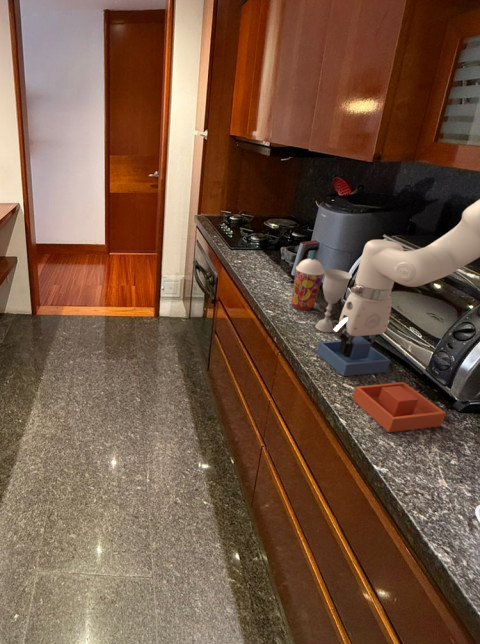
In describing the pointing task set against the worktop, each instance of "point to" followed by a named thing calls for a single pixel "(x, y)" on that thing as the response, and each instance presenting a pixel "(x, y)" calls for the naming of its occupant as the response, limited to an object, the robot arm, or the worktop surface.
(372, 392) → the terracotta bin
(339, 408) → the worktop surface
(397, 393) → the terracotta block
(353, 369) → the blue bin
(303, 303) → the smoothie
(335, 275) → the chalice
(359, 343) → the blue cubic block piece
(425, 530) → the worktop surface
